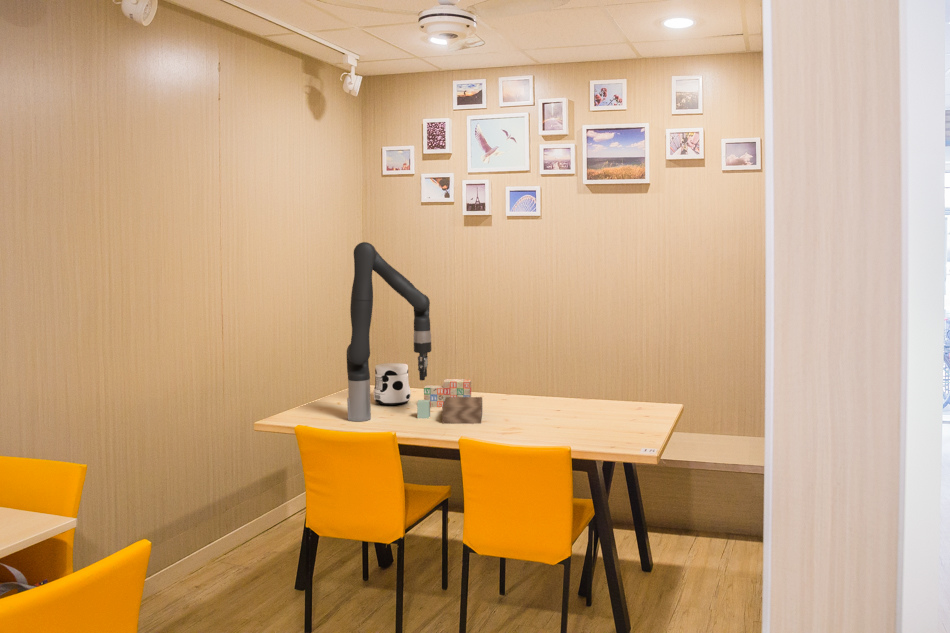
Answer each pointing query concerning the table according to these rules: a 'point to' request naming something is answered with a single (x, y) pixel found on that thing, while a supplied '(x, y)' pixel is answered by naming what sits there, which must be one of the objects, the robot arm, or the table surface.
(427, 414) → the sage block
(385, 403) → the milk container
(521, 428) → the table surface
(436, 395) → the stack of blocks
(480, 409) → the block
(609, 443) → the table surface
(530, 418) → the table surface
